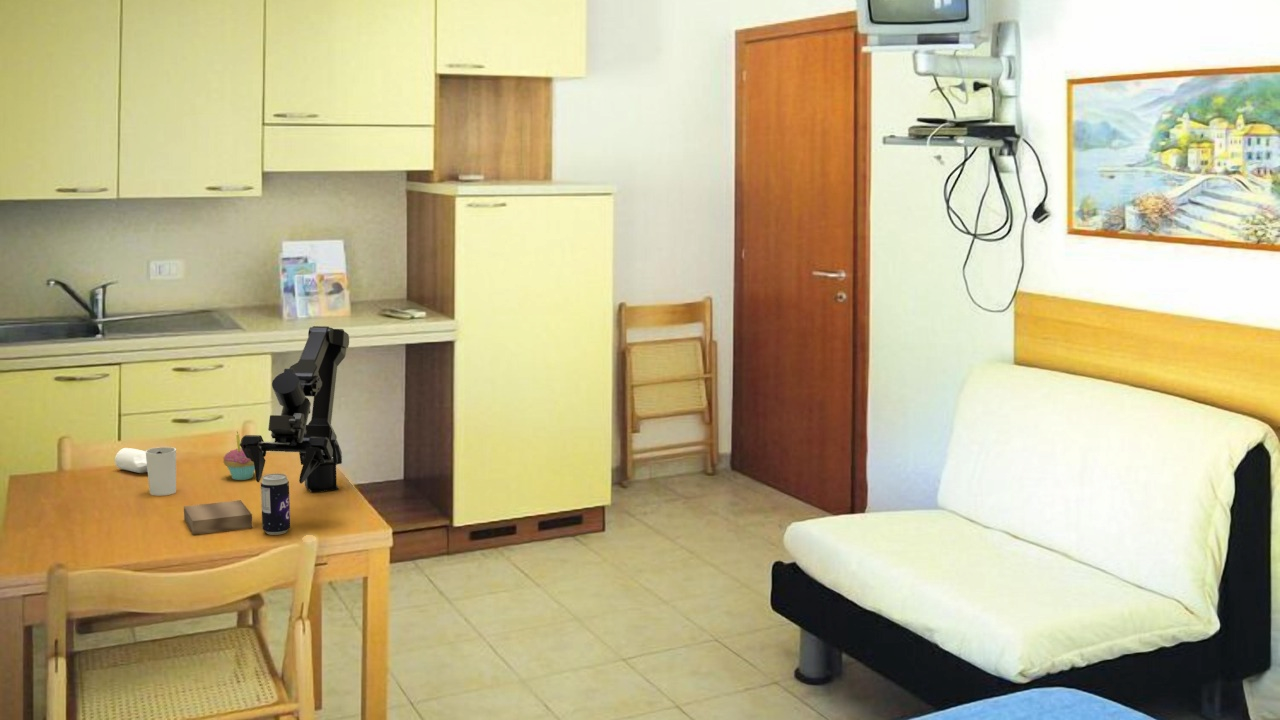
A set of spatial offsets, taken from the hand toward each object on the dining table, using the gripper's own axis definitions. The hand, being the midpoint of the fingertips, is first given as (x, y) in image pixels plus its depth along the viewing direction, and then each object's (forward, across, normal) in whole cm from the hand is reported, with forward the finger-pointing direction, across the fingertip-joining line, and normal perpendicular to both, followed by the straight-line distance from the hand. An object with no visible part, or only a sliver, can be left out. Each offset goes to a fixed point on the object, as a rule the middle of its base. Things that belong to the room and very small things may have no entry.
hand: (279, 481), depth 279 cm
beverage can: (+9, 0, +5) cm, 11 cm away
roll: (-23, -48, +37) cm, 65 cm away
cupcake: (-21, -22, +35) cm, 47 cm away
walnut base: (+6, -14, +8) cm, 17 cm away
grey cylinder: (-11, -36, +25) cm, 45 cm away
